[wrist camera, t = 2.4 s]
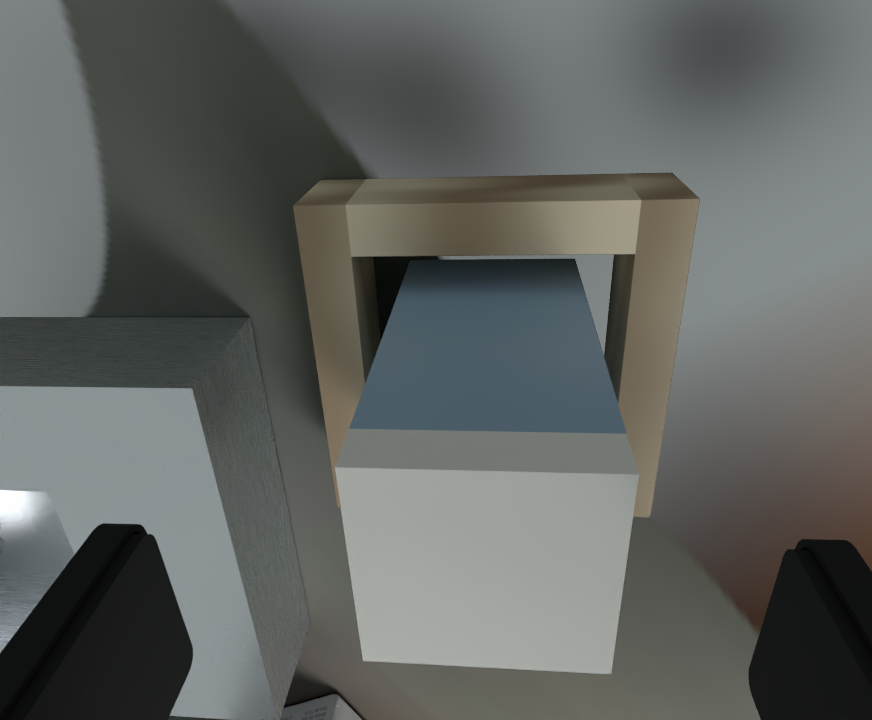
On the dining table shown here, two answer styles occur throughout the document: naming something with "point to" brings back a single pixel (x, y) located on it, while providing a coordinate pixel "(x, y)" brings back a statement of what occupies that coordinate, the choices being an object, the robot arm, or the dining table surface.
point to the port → (155, 486)
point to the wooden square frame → (504, 235)
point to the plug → (488, 475)
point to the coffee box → (320, 710)
